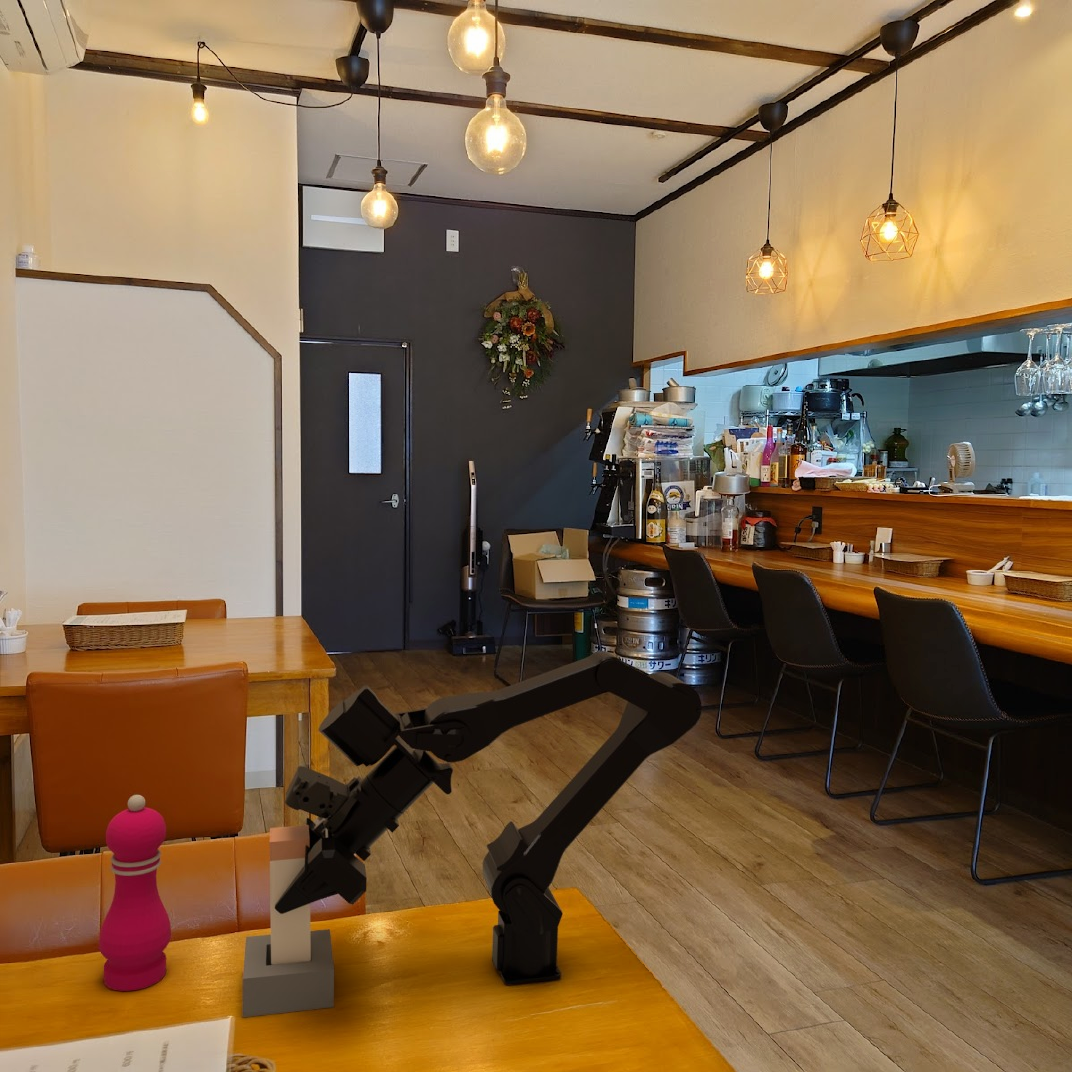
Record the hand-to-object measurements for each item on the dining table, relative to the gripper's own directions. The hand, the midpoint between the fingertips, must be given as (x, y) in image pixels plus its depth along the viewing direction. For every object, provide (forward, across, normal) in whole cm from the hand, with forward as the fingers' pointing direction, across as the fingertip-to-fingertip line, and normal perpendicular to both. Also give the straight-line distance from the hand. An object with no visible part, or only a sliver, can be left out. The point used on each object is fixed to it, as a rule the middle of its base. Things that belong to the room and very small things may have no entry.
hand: (278, 901), depth 100 cm
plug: (+4, 0, +6) cm, 8 cm away
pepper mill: (+18, -5, -4) cm, 19 cm away
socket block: (+6, 0, +8) cm, 10 cm away
